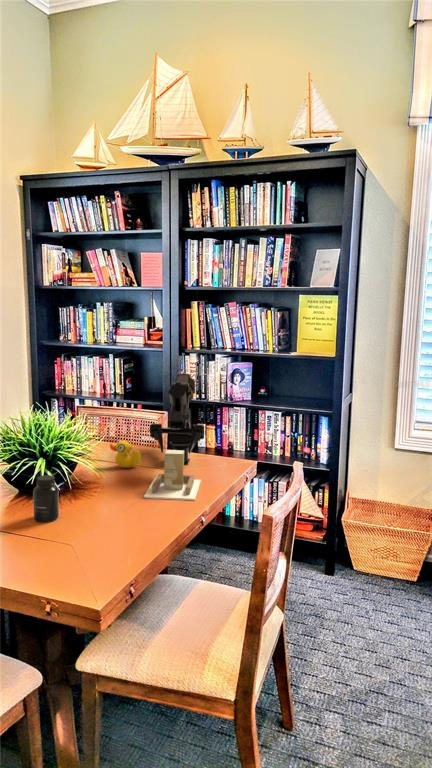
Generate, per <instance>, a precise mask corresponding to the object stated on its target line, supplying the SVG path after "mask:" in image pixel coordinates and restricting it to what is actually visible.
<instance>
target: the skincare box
mask: <svg viewBox="0 0 432 768" xmlns="http://www.w3.org/2000/svg"><path fill="white" fill-rule="evenodd" d="M184 467H185V464H184V451H183V450H173V449H165V451H164V472H163V474H164V489H177V490H182V488H183V475H184V471H185V470H184V469H185V468H184Z"/></svg>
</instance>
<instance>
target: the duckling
mask: <svg viewBox="0 0 432 768" xmlns="http://www.w3.org/2000/svg"><path fill="white" fill-rule="evenodd" d="M109 447H110V450H111V451H113V452H117V454H116V456H115V457H114V458H115V459H114V460H115V463H116V464H117V465H118V466H119V467H120V468H124V469H129V468H130V469H131V468H135V467H136V466H138V465H139V464H140V462H141V457H142V456H141V453H140V451H139V450H137V449H136V450H134V451H133V454H132V455H131V456H130V455H129V453H130V451H131V450H132V449H133V445H132V444H131V443H130V442H129V441H127V440H120V441H118V442H117V443H116V445H114V444H113V442H111V443H109Z"/></svg>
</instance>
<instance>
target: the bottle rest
mask: <svg viewBox="0 0 432 768" xmlns="http://www.w3.org/2000/svg"><path fill="white" fill-rule="evenodd" d="M201 482H202V479H195V475H193V474H183V488H182V490H177V489H164V473H158V474H157V477H154V479H153V480H152V481H151V483H150V485H149V488H147V491H146V492H145V494H144V496H143V498H144V499H155V500H157V499H158V500H172V501H173V500H174V501H176V500H177V501H196V499H197V494H198V491H199V489H200V485H201Z"/></svg>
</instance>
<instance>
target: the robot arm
mask: <svg viewBox="0 0 432 768" xmlns="http://www.w3.org/2000/svg"><path fill="white" fill-rule="evenodd" d="M167 393H168V396H169V402H170V411H169V418H168V427H163V425H162V423H151V424H150V425H149V435H150V438H152V439H154V440H155V441H157V442H158V445H159V447H160V452H161V454H164V437H163V434H168V448H172V450H183V451H184V466H185V465H189V463H190V460H191V459H190V458H189V454H191V452H192V451H193V448H194V447H195V445H196V444H197V442H200V441H201V440H203V439H205V426H204V425H203V424H192V427H191V426H190V422H188V421H190V418H191V417H190V413H191V410H190V409H189V406H190V405H189V403H190V402H191V401H192V400H193V399H194V394H196V381H195V380H194V378H192V377H191V374H189V373H179V374H177V378H175V379H174V382H172V383H171V386H169V388H168V392H167Z"/></svg>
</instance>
